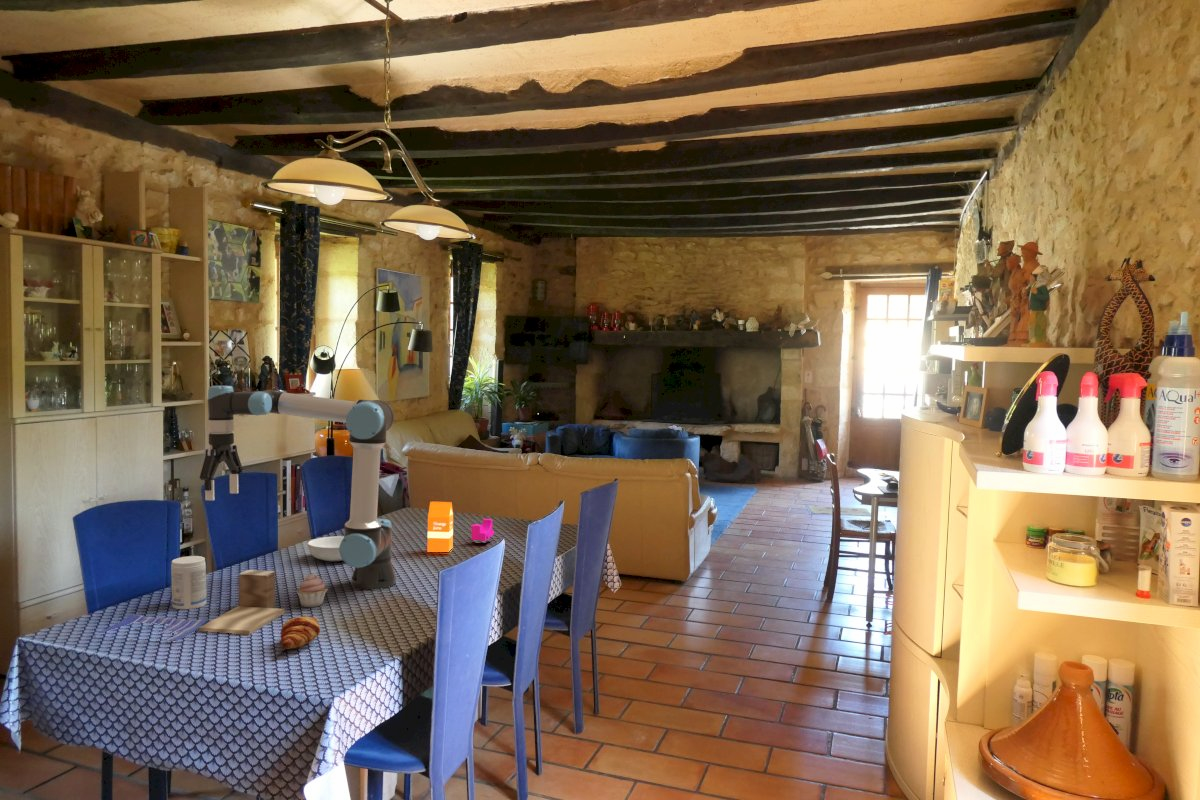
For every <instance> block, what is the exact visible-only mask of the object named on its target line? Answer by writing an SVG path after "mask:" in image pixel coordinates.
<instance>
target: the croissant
mask: <svg viewBox="0 0 1200 800" xmlns="http://www.w3.org/2000/svg"><path fill="white" fill-rule="evenodd" d="M319 623H320V622H319V620H318V618H315V617H313V616H306V615H304V616H296V617H292V618H291V619H289V620H287V621H286V622H285V623H284V624H283V625H282V627H281V629H280V643H279V644H280V646H281V647H282V648H283V649H285V650H290V649H296V648H301V647H303V646H304V645H306V644H310V643H312V641H313V640H314V639H316V638H317V637H318V636H319V635H320V634H321V627H320V625H319Z"/></svg>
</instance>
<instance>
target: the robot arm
mask: <svg viewBox="0 0 1200 800" xmlns="http://www.w3.org/2000/svg"><path fill="white" fill-rule="evenodd" d="M207 393H208V394H207V409H208V414H207V415H208V432H209V434H208V445H210V446H211V447H212V448H211V449H210V448H206V449H205V455H204V461H203V463H202V467H201V471H200V475H199V479H200V481H204V495H205V496H204V497H205V498H204V499H205V501H215V479H214V477H215V475H216V471H217V469H218V467H219V465H220V464H221V463H222V462H224V463H225V464H226V466H227V468H228V470H229V471H230V473H229V475H228V476H229V494H236V495H237V494H239V474H242V471H243V466H242V465H243V464H242V463H241V459H240V456H239V454H238V453H239V452H238V449H237V447H238V446H237V445H235V444H234V443H235V436H234V435H235V434H234V433H233V432H234V431H235V428H234V427H235V425H234V424H235V423H234V421H235V420H234V415H235V416H238V415H239V416H240V415H245V416H257V417H258V416H266V415H268V414H277V415H287V416H292V417H293V416H294V417H299V418H300V417H302V418H307V419H308V418H309V419H317V420H322V421H323V420H324V421H331V422H337V423H338V422H339V423H344V424H345V426H346V430H347V431H348V433H349V435H348V436H349V437H348V439H349V440H348V443H349V444H350V445H352V447H353V450H352V451H353V452H352V453H353V455H352V470H351V471H352V472H351V473H352V475H351V489H350V491H351V492H350V493H351V495H350V496H351V497H350V506H349V507H350V512H349V520H347V521H346V522H345V523H344V531H343V532H344V533H343V536H344V538H343V539H342V541H341V543H340V546H339V553H340V556H341V558H342V560H343V563H345V564H346V565H348V566H350V567H352V568H354V570H353V573H352V575H351V579H350V586H351V585H352V586H353V587H352V586H351V587H352V588H354V587H355V588H354V589H356V588H359V589H358V590H361V589H381V588H386V587H389V586H392V585H394V584H395V583H396V584H397V575H396V573H395V569H394V567H393V564H392V531H393V527H392V521H391V520H390V519H387V518H378V504H379V503H378V502H379V486H380V485H379V484H380V470H381V469H380V468H381V467H380V466H381V449H382V447H384V445H386V444H387V431H389V430H390V429H391V428H392V426H393V424H394V420H395V413H394V410H393V408H392V406H391V405H390V404H388V403H387V402H385V401H383V400H379V399H373V400H369V399H357V400H356V401H350V400H345V399H344V400H343V399H335V398H329V397H328V398H327V397H321V396H313V395H305V394H299V393H298V394H297V393H296V394H295V393H292V392H291V393H289V392H283V391H282V392H281V391H279V390H278V391H277V390H276V389H275V390H273V389H266V390H261V391H260V390H259V391H258V390H257V391H256V390H255V391H235V390H234V387H233V386H232V385H212V386H209V387H208V392H207ZM233 444H234V445H233ZM396 584H395V585H396ZM395 585H394V586H395ZM392 587H393V586H392ZM386 589H387V588H386ZM381 590H382V589H381Z"/></svg>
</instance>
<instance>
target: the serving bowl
mask: <svg viewBox="0 0 1200 800" xmlns="http://www.w3.org/2000/svg"><path fill="white" fill-rule="evenodd" d="M343 538H344V535H336V536H324V537H317V538H314V539H311V540H309V541H308V542H307V547H308V551H309V553H310V554H311V556H312V557H314V558H315V559H318V560H322V561H326V562H341V561H343V560H342V558H341V556H340V553H339V546H340V543H341V541H342V539H343ZM343 562H344V561H343Z"/></svg>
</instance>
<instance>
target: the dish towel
mask: <svg viewBox="0 0 1200 800" xmlns="http://www.w3.org/2000/svg"><path fill="white" fill-rule="evenodd" d="M134 622H140V623H145V622H146V623H151V624H152V623H153V624H154V623H157V624H155V625H157V626H160V623H161V624H162V623H166V624H168V625H164V626H163V627H166V628H164V629H163V631H165V632H167V630H168V631H170V630H171V631H172V632H170V633H171V634H172V633H175V632H178V631H179V632H178V633H177V634H175V635H173V637H169V638H167V639H164V640H167V641H178V640H179V639H181V638H183V637H185V636H187V635H189V634H190V633H192V632H194V631H196V630H197V631H199V630H198V629H199V627H201V626H203V625H205V624H207V623H208V622H209V619H208V618H206V619H205V618H203V619H201V618H200V619H184V618H174V617H173V618H172V617H171V618H168V617H151V616H144V615H141V614H135V613H132V614H131V615H130V614H129V615H128V616H126V617H124V619H122V620H121V621H119V622H117V623H115V624H113V625H111V626H109V627H107V628H104V629H103V630H101V631H99V632H98V633H104V632H106V631H109V630H111V629H115V628H118V627H121V626H124V625H127V624H132V623H134ZM158 624H159V625H158ZM169 625H170V626H169ZM163 631H160V632H161V633H163ZM197 631H196V632H197ZM194 633H195V632H194ZM192 634H193V633H192ZM169 635H170V634H169ZM189 636H190V635H189ZM187 637H188V636H187Z"/></svg>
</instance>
